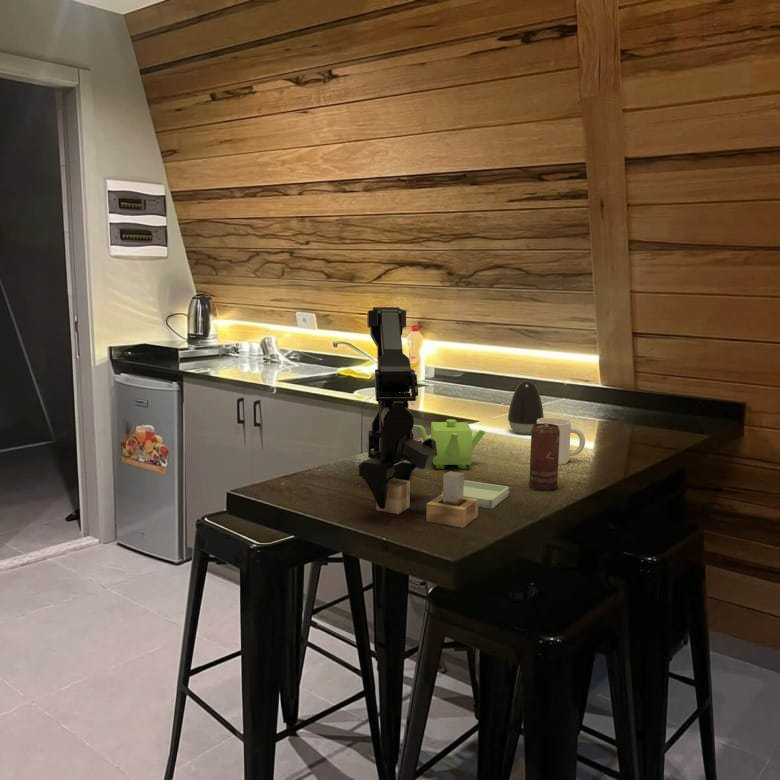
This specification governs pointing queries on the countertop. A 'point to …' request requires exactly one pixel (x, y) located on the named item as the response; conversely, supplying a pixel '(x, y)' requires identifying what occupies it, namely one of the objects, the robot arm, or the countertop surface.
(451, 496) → the grey wood bar
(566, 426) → the mug
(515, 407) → the dark tapered diffuser
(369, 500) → the countertop surface
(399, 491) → the beech block
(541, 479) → the can
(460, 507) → the oak block
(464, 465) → the kettle
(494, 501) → the tray
